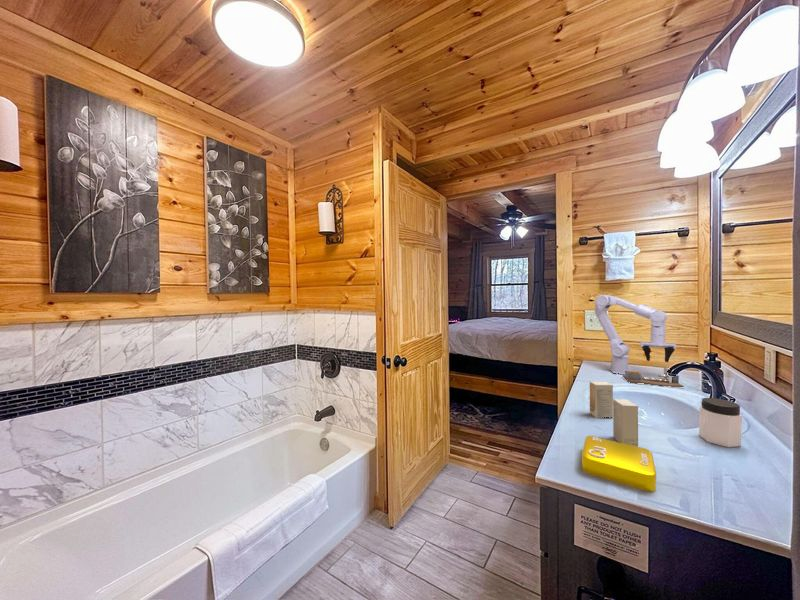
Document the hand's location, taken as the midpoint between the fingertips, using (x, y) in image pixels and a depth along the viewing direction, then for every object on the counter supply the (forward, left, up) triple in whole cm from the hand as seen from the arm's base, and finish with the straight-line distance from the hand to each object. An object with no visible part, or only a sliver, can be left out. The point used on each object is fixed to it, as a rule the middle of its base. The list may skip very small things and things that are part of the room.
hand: (657, 361), depth 159 cm
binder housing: (+7, -12, -9) cm, 17 cm away
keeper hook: (+7, +2, -8) cm, 11 cm away
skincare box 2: (+83, -35, -10) cm, 91 cm away
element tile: (+100, -41, -10) cm, 109 cm away
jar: (+72, -8, -10) cm, 73 cm away
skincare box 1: (+63, -37, -10) cm, 74 cm away
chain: (+7, -3, -8) cm, 11 cm away
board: (+7, -5, -9) cm, 13 cm away
